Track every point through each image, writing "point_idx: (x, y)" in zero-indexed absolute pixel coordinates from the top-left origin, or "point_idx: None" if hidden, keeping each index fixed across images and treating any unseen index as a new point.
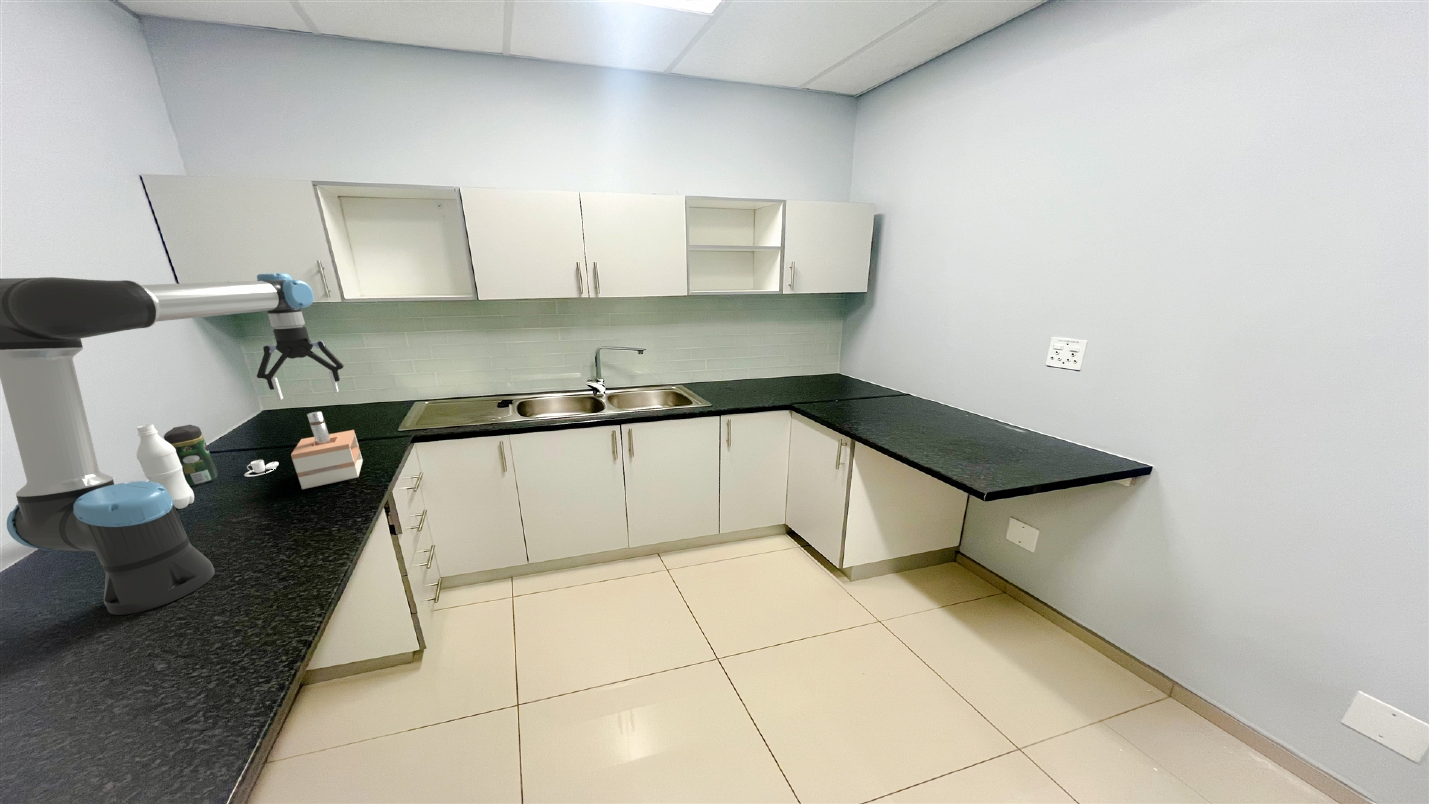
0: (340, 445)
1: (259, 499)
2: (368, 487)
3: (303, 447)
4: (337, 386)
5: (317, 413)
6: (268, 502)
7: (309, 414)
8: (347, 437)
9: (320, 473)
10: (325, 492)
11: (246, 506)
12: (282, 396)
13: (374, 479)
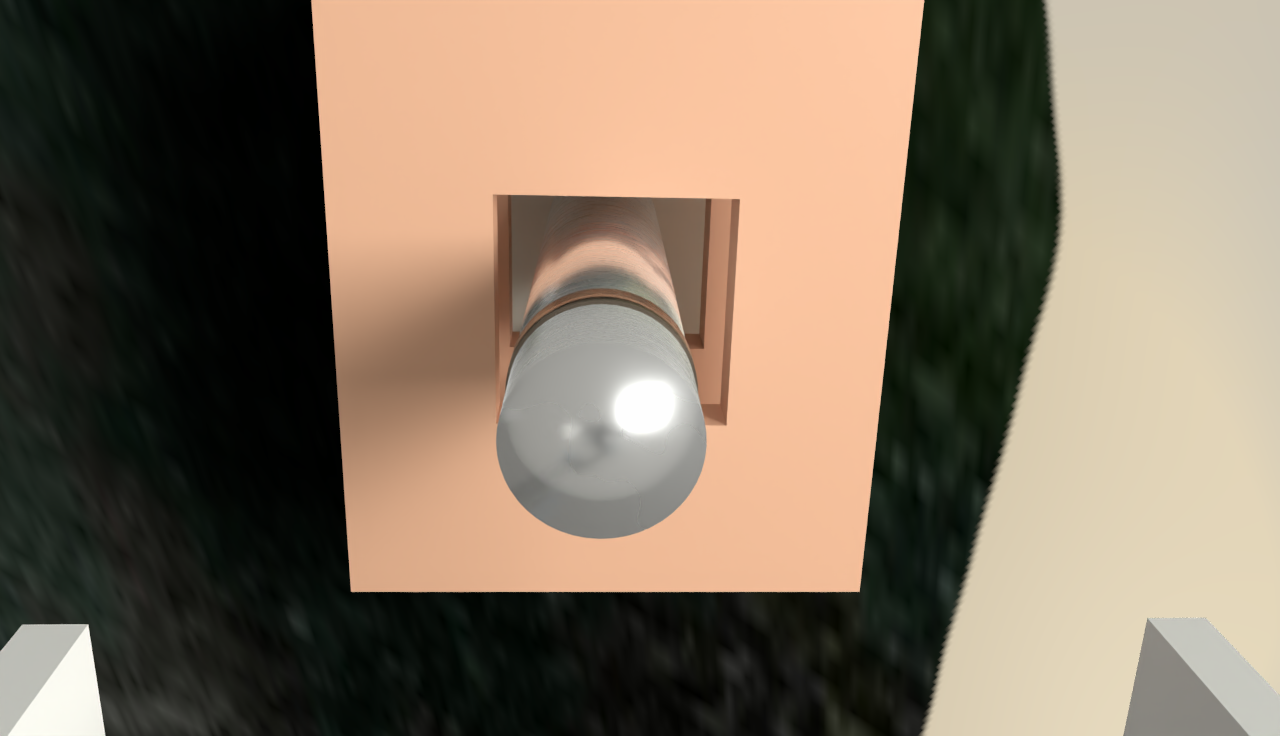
0: (786, 587)
1: (140, 438)
2: (853, 679)
3: (422, 406)
4: (1268, 691)
5: (656, 522)
6: (230, 541)
7: (539, 495)
8: (849, 324)
9: None
10: (586, 593)
11: (94, 524)
12: (71, 673)
13: (896, 553)
